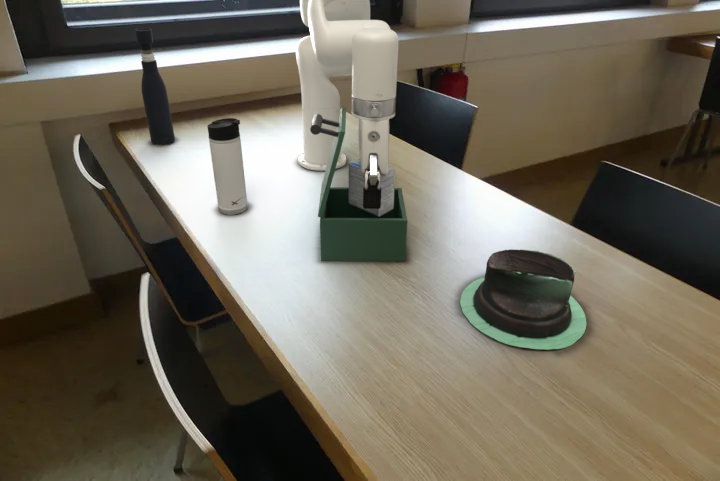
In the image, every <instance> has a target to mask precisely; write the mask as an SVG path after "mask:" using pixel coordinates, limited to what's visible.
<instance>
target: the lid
mask: <svg viewBox="0 0 720 481" xmlns="http://www.w3.org/2000/svg"><path fill="white" fill-rule="evenodd" d="M346 121H347V107H346V106H341V108H340V117H339V120H338V122H334V121H331V120H327V119H323V118H322V116H321V115H320V114H315V115H314V116H313V118H312V123H311V128H310V131H311V133H312V134H314V135H317V134H319V133H324V134H327V135H331V136H334V140H333V143H332V147H331V151H330V155H329V159H328V163H327V166H326V170H325V171H324V174H323V178H322V181H321V188H320V195H319V203H318V211H317V217H318V218H320V217H321V218H322V216H323V213H324V209H325V205H326V202H327V198H328V194H329V191H330V187H332V182H333V179H334V176H335V172H336V169H335V168H336V165H337V161H338V157H339V154H340V152H341V150H342V146H343V143H344V138H345V135H346V125H347V123H346ZM322 123H323V124H327V125H331V126H335V127H337V128H336V131H332V130H328V129H325V128H321V126H322Z"/></svg>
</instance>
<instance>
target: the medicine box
mask: <svg viewBox="0 0 720 481" xmlns="http://www.w3.org/2000/svg"><path fill="white" fill-rule="evenodd" d="M367 171H370V169H367ZM377 171H378V169H377ZM380 172H381V171H380ZM368 179H370V176H368ZM395 179H396V168H395V167H394V166H391V165H388V174H387V175H385V174H382V173H381V174H380V187H381V208H380V209H364V208H363V187H365V174H362V173H361V166H360V157H359V158H357V159H354V160H352V161H350V162H348V187H349V204H351V205H353V206H356V207H358V208H360V209H363V210H365V211H367V212H370V213H372V214H374V215H376V216H378V217H380V216H381V215H383V214H385V213H387V212H389V211H391V210H392V209H394V188H395V181H396V180H395Z"/></svg>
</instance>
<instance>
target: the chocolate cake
mask: <svg viewBox="0 0 720 481" xmlns="http://www.w3.org/2000/svg"><path fill="white" fill-rule="evenodd" d="M485 266H486V268H485V274H484V277H480V278H478V279H475V280H474V281H472V282H471V283H470V284H469V285H467V286H466V287H465V288H464V289H463V291H462V293H461V295H460V301H459V302H460V308H461V311H462V313H463V315H464V316H465V317H466V319H467V320H468V321H469V323H470V324H471V325H472V326H473V327H474V328H476V329H477V330H478V331H479V332H481V333H483V334H485V335H486V336H488V337H490V338H492V339H495V340H496V341H498V342H499V343H503V344H506V345H509V346H514V347H517V348H526V349H532V350H549V351H550V350H560V349H564V348H568V347H570V346H572V345H574V344H575V343H576V342H578V341H579V340H580V339H581V338H582V337H583V335H584V334H585V332H586V329H587V324H588V323H587V317H586V313H585V312H584V309H583V308H582V307H581V305H580V304H579V302H578V301H577V300H576V299H575V298H574V297H573V296H572V290H573V287H574V283H575V274H577V271H576V270H574V269H573V267H572V266H571V265H570V263H569V262H567V261H565V260H564V259H562V258H561V257H558V256H556V255H554V254H552V253H549V252H548V253H546V252H542V251H539V250H530V249H504V250H498V251H494V252H493V253H491V255H490V256H489V257H488V259H487V261H486V265H485Z"/></svg>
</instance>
